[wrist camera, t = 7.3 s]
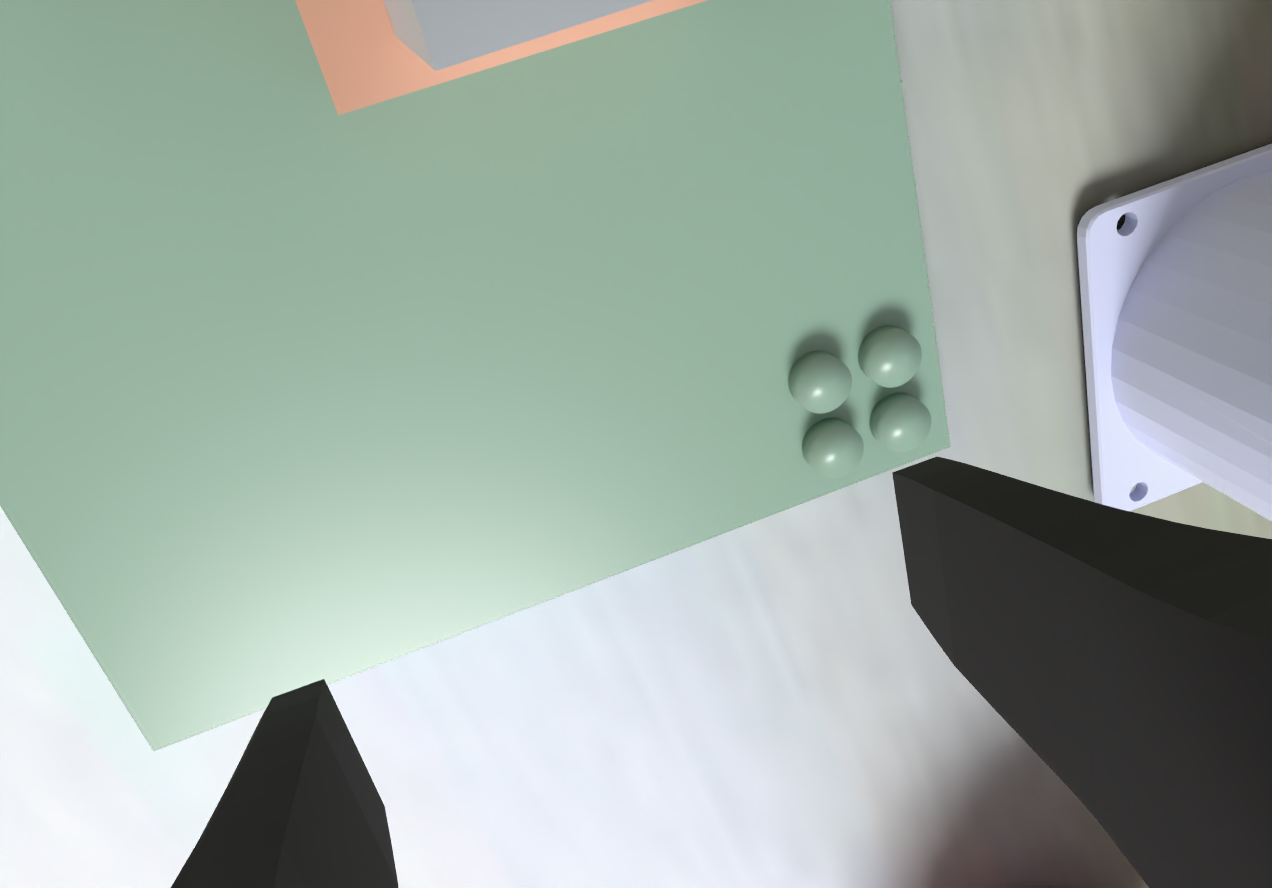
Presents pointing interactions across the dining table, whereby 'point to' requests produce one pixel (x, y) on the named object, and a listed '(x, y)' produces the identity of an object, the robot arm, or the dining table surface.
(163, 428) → the building board
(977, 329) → the dining table surface
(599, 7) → the white brick
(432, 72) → the terracotta brick
